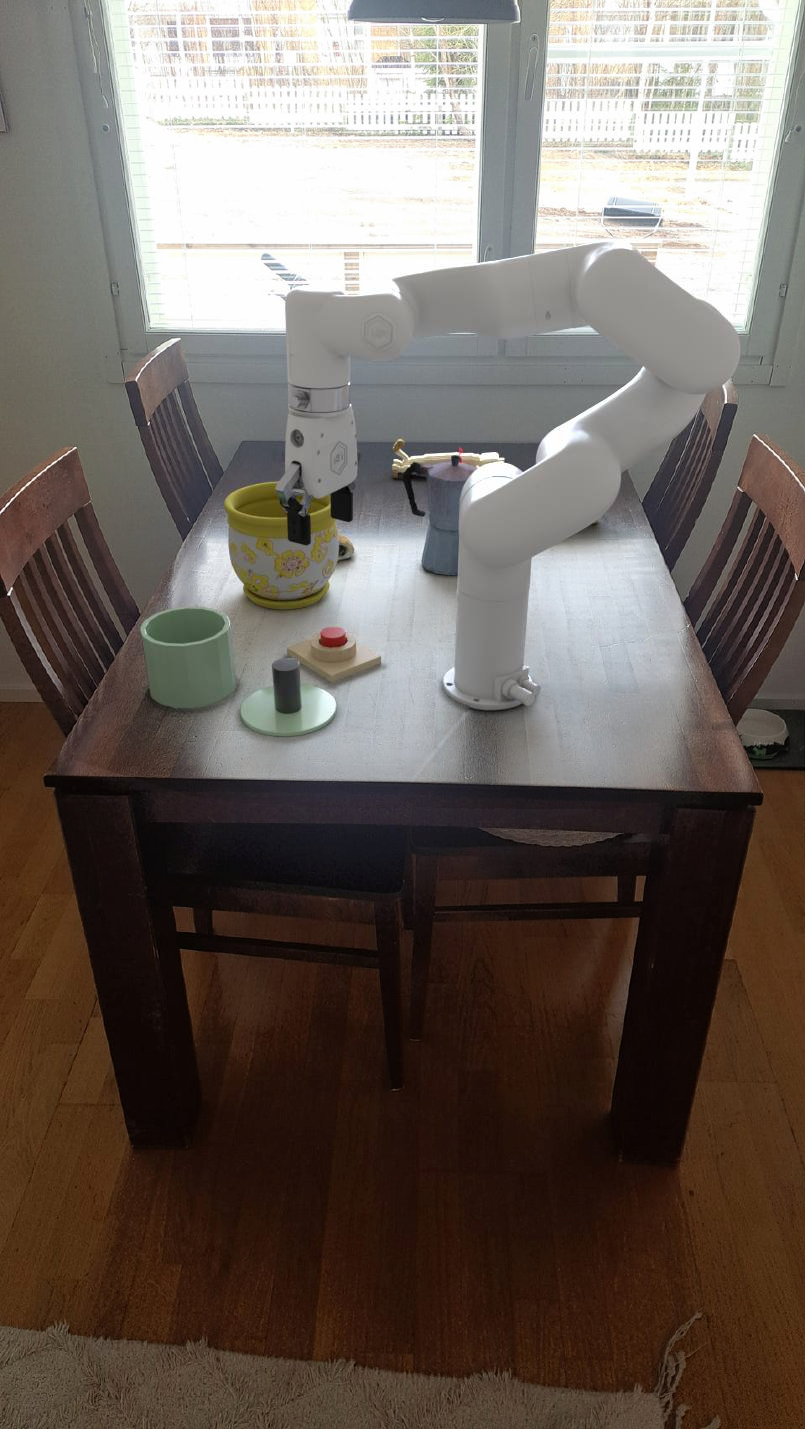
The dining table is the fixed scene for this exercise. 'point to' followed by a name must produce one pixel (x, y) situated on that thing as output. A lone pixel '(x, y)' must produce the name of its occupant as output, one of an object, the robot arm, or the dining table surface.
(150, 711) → the dining table surface
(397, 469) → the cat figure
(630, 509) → the dining table surface
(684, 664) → the dining table surface
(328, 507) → the flowerpot
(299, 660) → the switch block
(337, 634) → the button
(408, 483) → the moka pot
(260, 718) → the lid
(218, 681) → the mint green cup
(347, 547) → the pastry
